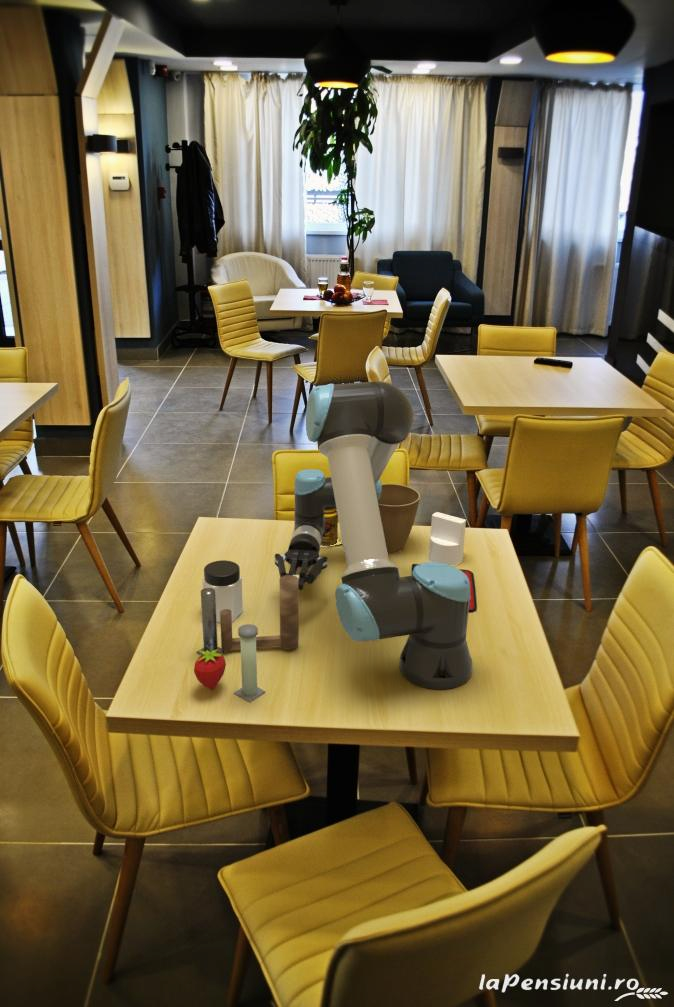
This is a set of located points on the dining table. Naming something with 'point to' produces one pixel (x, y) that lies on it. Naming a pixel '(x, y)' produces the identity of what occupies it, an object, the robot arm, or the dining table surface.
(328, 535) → the condiment
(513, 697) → the dining table surface
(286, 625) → the brown uneven u-shaped piece
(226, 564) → the jar
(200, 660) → the strawberry
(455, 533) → the cylinder with rectangular tab
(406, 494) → the plant pot
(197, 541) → the dining table surface
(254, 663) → the post
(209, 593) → the hinge post
